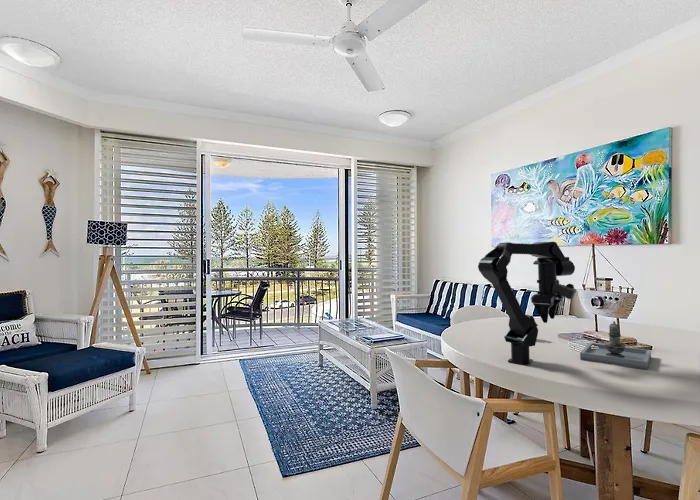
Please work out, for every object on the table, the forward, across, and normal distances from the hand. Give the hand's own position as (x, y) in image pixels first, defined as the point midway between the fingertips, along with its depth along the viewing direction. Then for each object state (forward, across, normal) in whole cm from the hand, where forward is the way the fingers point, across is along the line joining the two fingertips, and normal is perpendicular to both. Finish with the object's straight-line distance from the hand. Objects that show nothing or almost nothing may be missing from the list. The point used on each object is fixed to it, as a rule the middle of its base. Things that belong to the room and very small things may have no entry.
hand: (548, 320), depth 131 cm
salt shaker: (+12, +12, -18) cm, 25 cm away
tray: (+13, +12, -18) cm, 25 cm away
